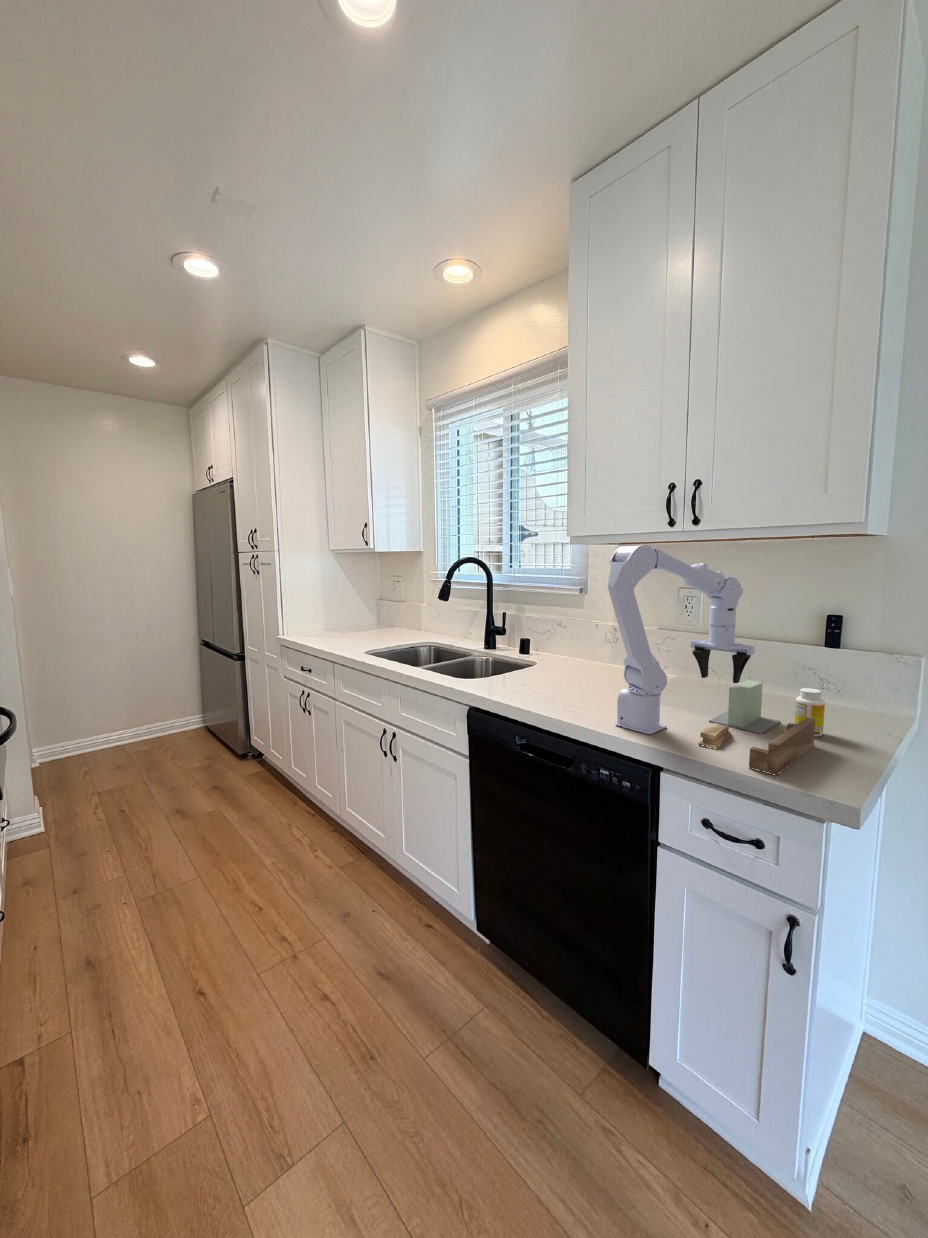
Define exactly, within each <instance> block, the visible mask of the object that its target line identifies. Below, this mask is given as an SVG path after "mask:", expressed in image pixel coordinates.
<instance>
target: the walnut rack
mask: <svg viewBox="0 0 928 1238" xmlns="http://www.w3.org/2000/svg"><path fill="white" fill-rule="evenodd" d="M814 734H815V719H812V718H805V719H804V720H802V721H801V722H799V723H798V724H794V723H791V722H789V723H787V724H786V731H785V732H783V733H781V734H780V735H779V736H776V738H774V739H773V740H771V741H769V742H768V744H767V745H768V748H767V749H764V748H760V747H756V746H752V747H751V748H749V759H748V761H749V762H748V768H749V767H750V768H754V769H758V770H760V771H765V772H769V773H771V774H775V775H777V774H778V773H779V772H781V771H782V770H783V769H785V768H786V767H787V766H788V767H789V765H790V764H791V763H792V764H793V763H795V762H796V761H797V760H798V759H800V758H801V757H802V756H803V755H805V754H806V753H808V752H809V750H811V749H812V748H813V747H814V746H815V737H814ZM792 764H791V765H792ZM791 765H790V766H791ZM788 767H787V768H788ZM787 768H786V769H787ZM786 769H785V770H786ZM760 771H759V772H760ZM783 771H784V770H783ZM783 771H782V772H783ZM782 772H781V773H782ZM778 775H779V774H778ZM778 775H777V776H778Z"/></svg>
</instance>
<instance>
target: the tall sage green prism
mask: <svg viewBox="0 0 928 1238" xmlns="http://www.w3.org/2000/svg"><path fill="white" fill-rule="evenodd" d="M762 701H763V682H761V681H757V680H750V679H748V680H744V681H742V682H739V683H737V684H736V685H733V686H730V687H728V708H727V709H728V710H727V711H728V724H730V725H734V726H738V727H744V726H746V725H748V724H750V723H752V722H753V721H755V720H757V719H759V718H760V717H762Z"/></svg>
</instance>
